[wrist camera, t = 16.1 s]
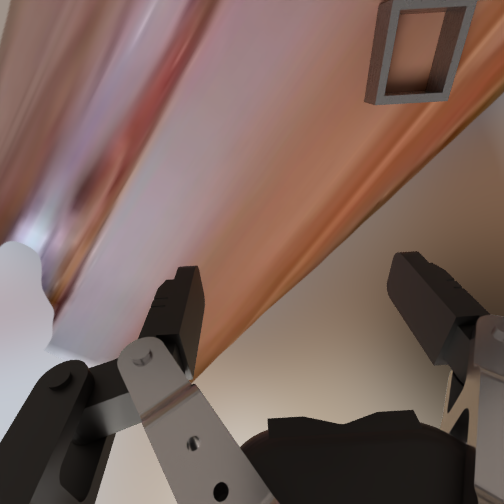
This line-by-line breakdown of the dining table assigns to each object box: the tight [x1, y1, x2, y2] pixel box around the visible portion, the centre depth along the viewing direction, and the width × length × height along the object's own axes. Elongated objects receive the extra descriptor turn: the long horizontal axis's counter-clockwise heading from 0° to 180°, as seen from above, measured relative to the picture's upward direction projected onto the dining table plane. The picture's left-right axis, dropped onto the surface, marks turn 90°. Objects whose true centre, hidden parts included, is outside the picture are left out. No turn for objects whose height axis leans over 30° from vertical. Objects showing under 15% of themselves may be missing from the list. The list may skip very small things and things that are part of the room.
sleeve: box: [364, 0, 477, 105], centre depth 36 cm, size 11×10×4 cm
